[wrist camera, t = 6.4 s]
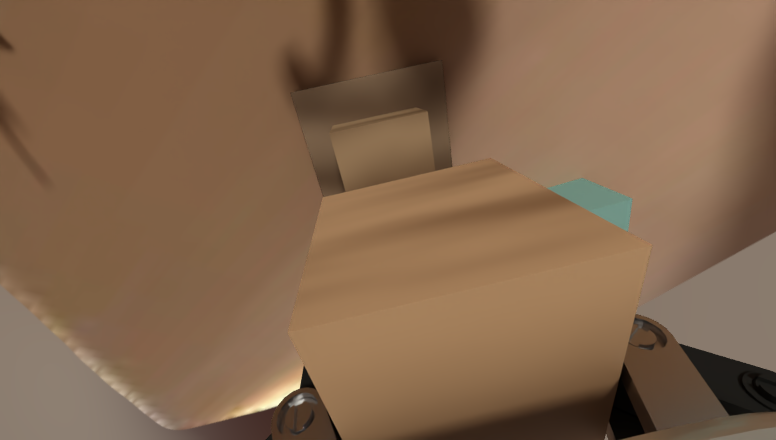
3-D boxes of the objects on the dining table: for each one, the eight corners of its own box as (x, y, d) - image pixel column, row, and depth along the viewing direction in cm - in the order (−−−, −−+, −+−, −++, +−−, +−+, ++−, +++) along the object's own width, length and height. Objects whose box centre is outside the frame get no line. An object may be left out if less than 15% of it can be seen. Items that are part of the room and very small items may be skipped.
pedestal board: (293, 92, 23) (278, 94, 18) (437, 60, 23) (459, 55, 19) (344, 255, 30) (342, 286, 25) (455, 230, 30) (473, 256, 26)
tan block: (322, 197, 10) (287, 332, 5) (490, 158, 10) (652, 245, 5) (378, 365, 14) (395, 544, 8) (498, 336, 14) (590, 496, 9)
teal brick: (525, 193, 30) (563, 218, 24) (581, 177, 29) (632, 198, 24) (528, 263, 34) (561, 297, 28) (578, 248, 33) (621, 280, 28)
